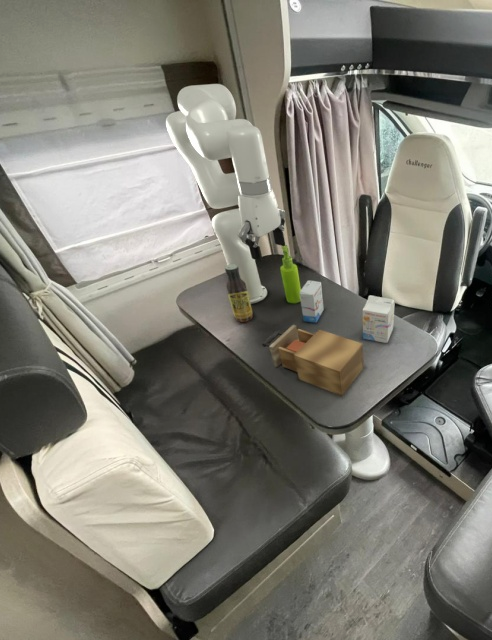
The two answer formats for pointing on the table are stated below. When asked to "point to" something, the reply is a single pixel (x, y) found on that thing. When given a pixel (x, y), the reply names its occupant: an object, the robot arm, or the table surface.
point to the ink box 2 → (378, 319)
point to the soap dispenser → (290, 277)
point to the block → (295, 345)
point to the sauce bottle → (238, 294)
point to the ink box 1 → (311, 301)
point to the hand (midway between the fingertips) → (269, 251)
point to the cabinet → (329, 361)
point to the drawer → (283, 342)
